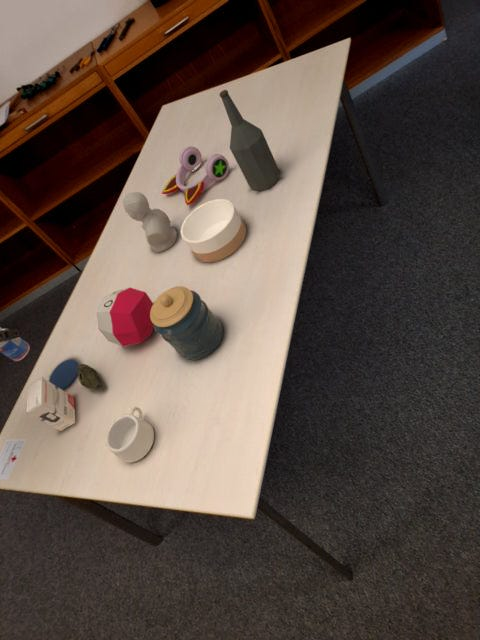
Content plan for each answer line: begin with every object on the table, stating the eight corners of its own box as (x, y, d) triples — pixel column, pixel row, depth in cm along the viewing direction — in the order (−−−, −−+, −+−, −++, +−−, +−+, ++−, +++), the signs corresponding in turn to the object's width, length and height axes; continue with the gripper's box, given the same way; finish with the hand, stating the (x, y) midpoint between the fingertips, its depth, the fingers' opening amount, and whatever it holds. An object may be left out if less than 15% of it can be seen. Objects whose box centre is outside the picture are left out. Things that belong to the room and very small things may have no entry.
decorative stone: (75, 393, 119) (62, 385, 115) (86, 368, 123) (74, 359, 119) (105, 394, 114) (93, 385, 110) (116, 368, 118) (104, 358, 114)
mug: (149, 463, 96) (132, 454, 91) (114, 463, 100) (97, 454, 96) (162, 412, 102) (148, 401, 98) (129, 413, 107) (114, 403, 102)
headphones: (224, 149, 144) (178, 184, 139) (234, 176, 151) (190, 209, 146) (192, 141, 157) (149, 172, 152) (203, 165, 164) (161, 196, 159)
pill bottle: (11, 365, 111) (-21, 344, 104) (14, 349, 115) (-17, 328, 108) (29, 356, 110) (-3, 335, 103) (31, 340, 114) (1, 318, 107)
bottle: (270, 166, 142) (229, 77, 120) (286, 175, 135) (246, 83, 114) (245, 185, 142) (200, 99, 120) (260, 196, 135) (215, 107, 113)
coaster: (48, 396, 123) (47, 396, 123) (52, 368, 130) (50, 367, 129) (77, 383, 121) (76, 382, 121) (80, 355, 128) (78, 354, 127)
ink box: (59, 405, 119) (26, 385, 111) (74, 396, 118) (42, 376, 110) (60, 432, 113) (24, 413, 105) (76, 422, 113) (41, 403, 104)
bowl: (237, 210, 135) (225, 189, 129) (253, 241, 124) (241, 220, 118) (189, 239, 138) (175, 219, 132) (201, 272, 126) (186, 252, 120)
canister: (219, 309, 114) (185, 265, 101) (228, 348, 105) (191, 304, 93) (176, 330, 116) (137, 289, 104) (181, 369, 108) (139, 330, 95)
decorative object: (132, 311, 105) (78, 309, 109) (148, 358, 114) (97, 354, 118) (156, 278, 117) (106, 277, 121) (169, 323, 125) (122, 321, 129)
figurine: (152, 259, 140) (114, 215, 126) (152, 234, 148) (116, 190, 134) (178, 247, 138) (142, 201, 124) (176, 223, 146) (143, 176, 132)
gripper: (-37, 326, 91) (25, 314, 107) (-84, 341, 96) (-17, 328, 112) (-25, 360, 92) (35, 343, 108) (-72, 374, 97) (-8, 356, 113)
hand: (8, 335), depth 110 cm, fingers closed on pill bottle, 5 cm apart
